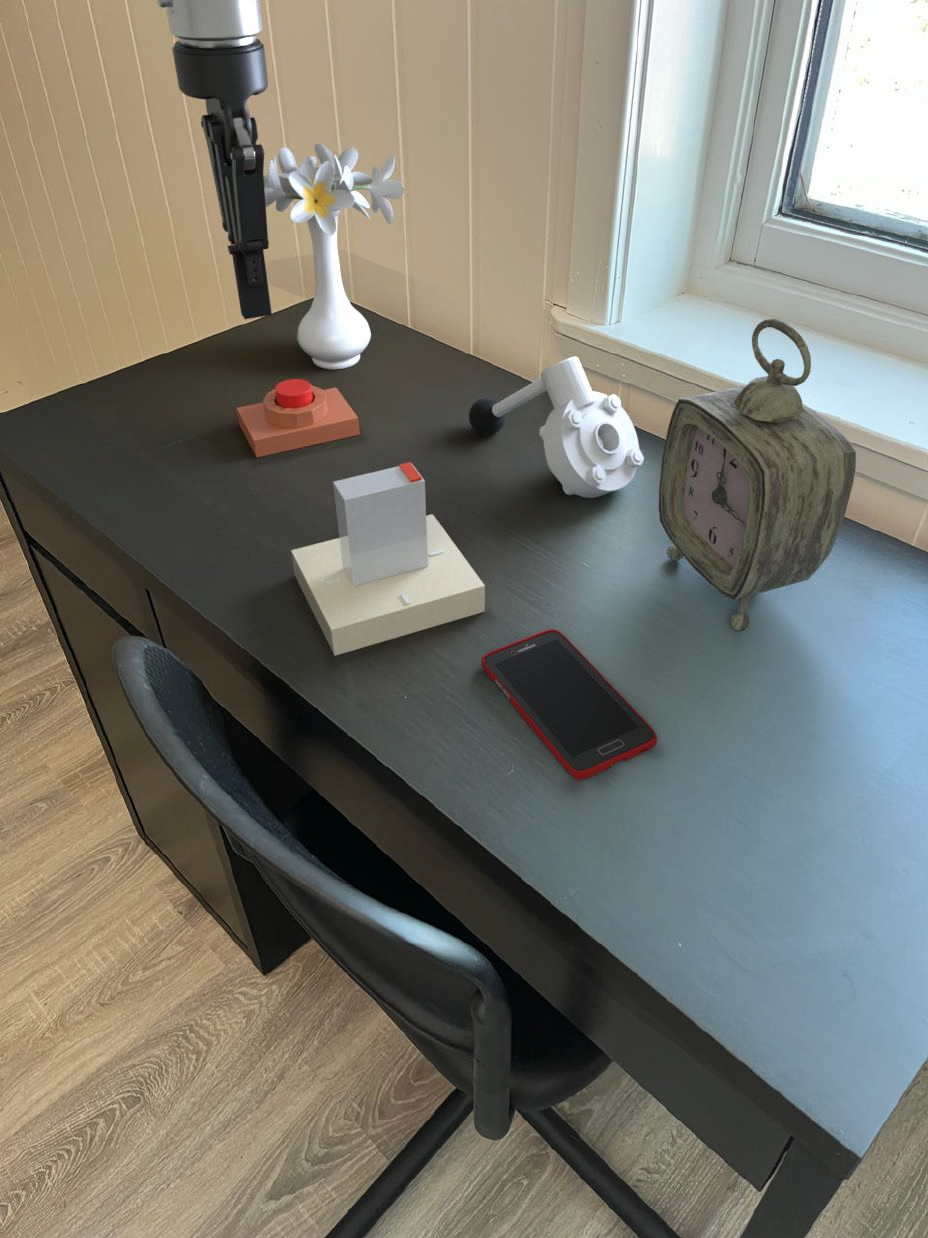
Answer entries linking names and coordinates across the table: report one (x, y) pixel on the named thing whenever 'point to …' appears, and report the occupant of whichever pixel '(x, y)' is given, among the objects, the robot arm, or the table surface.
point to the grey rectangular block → (382, 523)
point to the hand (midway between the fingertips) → (256, 313)
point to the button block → (297, 422)
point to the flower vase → (329, 242)
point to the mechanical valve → (574, 430)
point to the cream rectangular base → (387, 593)
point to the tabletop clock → (754, 482)
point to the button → (294, 393)
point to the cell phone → (568, 703)
